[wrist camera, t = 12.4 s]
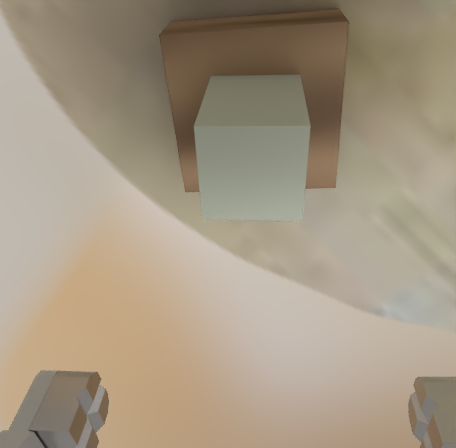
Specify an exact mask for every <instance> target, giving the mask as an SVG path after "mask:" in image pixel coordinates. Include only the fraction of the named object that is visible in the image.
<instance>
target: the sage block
mask: <svg viewBox="0 0 456 448" xmlns="http://www.w3.org/2000/svg"><path fill="white" fill-rule="evenodd" d="M310 127H311V125H310V120H309V115H308V110H307V105H306V100H305V95H304V90H303V85H302V80H301V75H237V76H211V78H210V81H209V84H208V86H207V89H206V92H205V95H204V98H203V101H202V104H201V107H200V110H199V113H198V116H197V118H196V121H195V124H194V134H195V145H196V156H197V167H198V179H199V190H200V201H201V212H202V220H252V221H303V210H304V198H305V186H306V174H307V163H308V151H309V139H310Z"/></svg>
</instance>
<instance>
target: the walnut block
mask: <svg viewBox="0 0 456 448" xmlns="http://www.w3.org/2000/svg"><path fill="white" fill-rule="evenodd" d="M348 24H349V21H348V20H347V19H346V17H345V16H344V14H343V13H342V12H341V10H340V9H330V10H317V11H303V12H290V13H277V14H264V15H250V16H237V17H224V18H210V19H197V20H184V21H171V23H170V24H169V25H168V26H167V27H166V28H165V29H164V30H163V32H162V33H161V34H160V35H159V37H160V43H161V49H162V55H163V61H164V67H165V73H166V79H167V85H168V91H169V97H170V103H171V109H172V115H173V121H174V127H175V133H176V139H177V145H178V151H179V157H180V163H181V169H182V175H183V181H184V187H185V192H200V190H199V179H198V167H197V156H196V145H195V134H194V124H195V121H196V118H197V116H198V113H199V110H200V107H201V104H202V101H203V98H204V95H205V92H206V89H207V86H208V84H209V81H210V78H211V76H237V75H301V80H302V85H303V90H304V95H305V100H306V105H307V110H308V115H309V120H310V125H311V127H310V139H309V151H308V163H307V174H306V186H305V189H311V188H336V175H337V163H338V150H339V138H340V125H341V112H342V100H343V87H344V75H345V62H346V49H347V37H348Z"/></svg>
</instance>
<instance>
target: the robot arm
mask: <svg viewBox="0 0 456 448" xmlns="http://www.w3.org/2000/svg"><path fill="white" fill-rule="evenodd" d="M100 381H101V378H100V376H99V374H98V372H85V371H46V370H45V371H44V370H43V371H40V373H38V374H37V375H36V377H35V378H34V380H33V382H32V385H31V386H30V388H29V390H28V392H27V395H26V396H25V398H24V400H23V402H22V404H21V406H20V408H19V410H18V412H17V414H16V416H15V418H14V420H13V422H12V424H11V426H10V428H9V430H3V431H2V432H1V433H0V448H97V446H98V442H99V440H98V437H97V434H96V432H97V431H98V430H99V429H100V428H101V427H102V426H103V425H104V424H105V420H106V417H107V414H108V405H109V400H108V393H107V391H106V389H105V388H104V387H102V386H100V385H99V384H100ZM414 388H415V393H413V394H411V395H410V399H409V404H408V407H409V419H410V424H411V428H412V432H413V434H414V435H415V436H416V437H417V438H418V440H419V441H420V442H421V446H420V448H456V377H417V378H416V379H415V382H414Z"/></svg>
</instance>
